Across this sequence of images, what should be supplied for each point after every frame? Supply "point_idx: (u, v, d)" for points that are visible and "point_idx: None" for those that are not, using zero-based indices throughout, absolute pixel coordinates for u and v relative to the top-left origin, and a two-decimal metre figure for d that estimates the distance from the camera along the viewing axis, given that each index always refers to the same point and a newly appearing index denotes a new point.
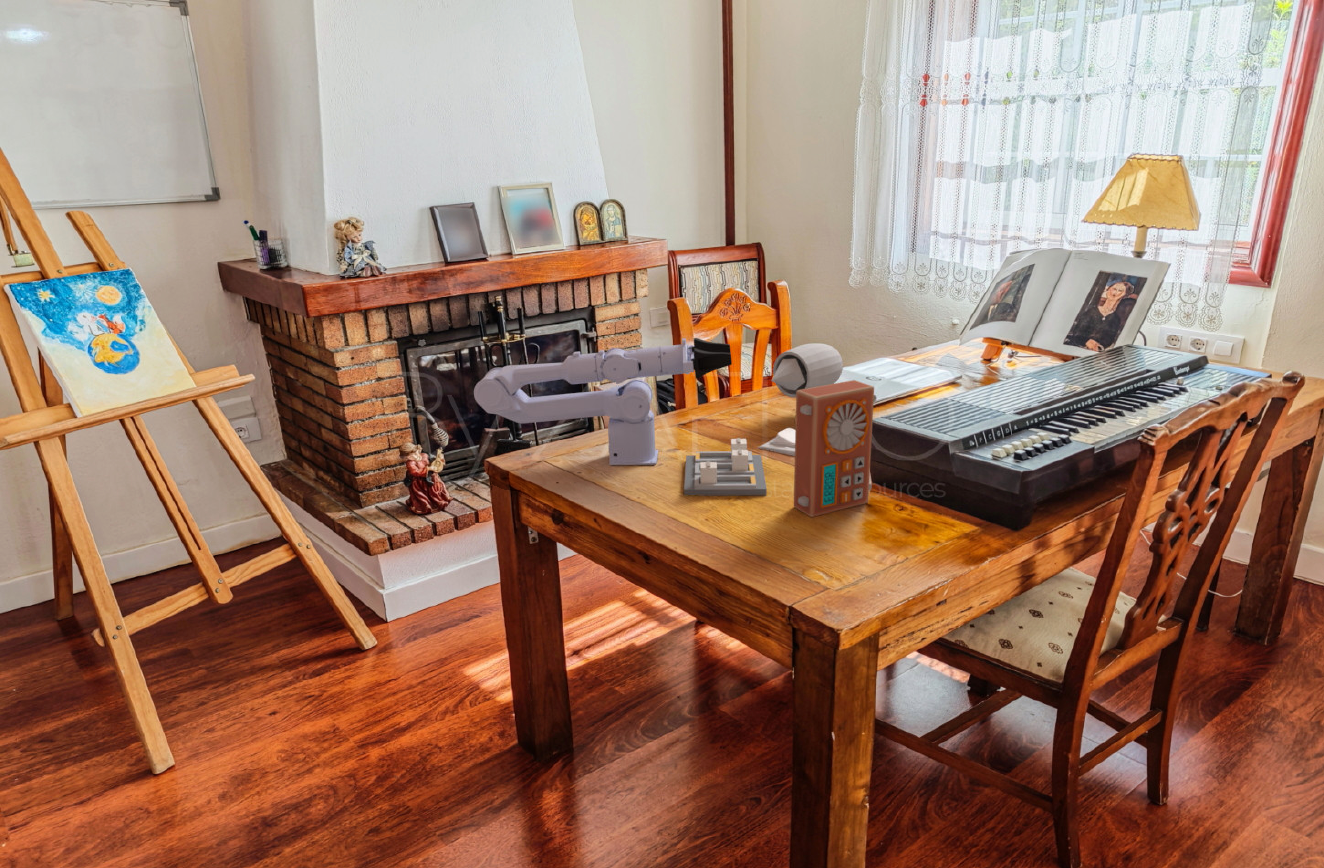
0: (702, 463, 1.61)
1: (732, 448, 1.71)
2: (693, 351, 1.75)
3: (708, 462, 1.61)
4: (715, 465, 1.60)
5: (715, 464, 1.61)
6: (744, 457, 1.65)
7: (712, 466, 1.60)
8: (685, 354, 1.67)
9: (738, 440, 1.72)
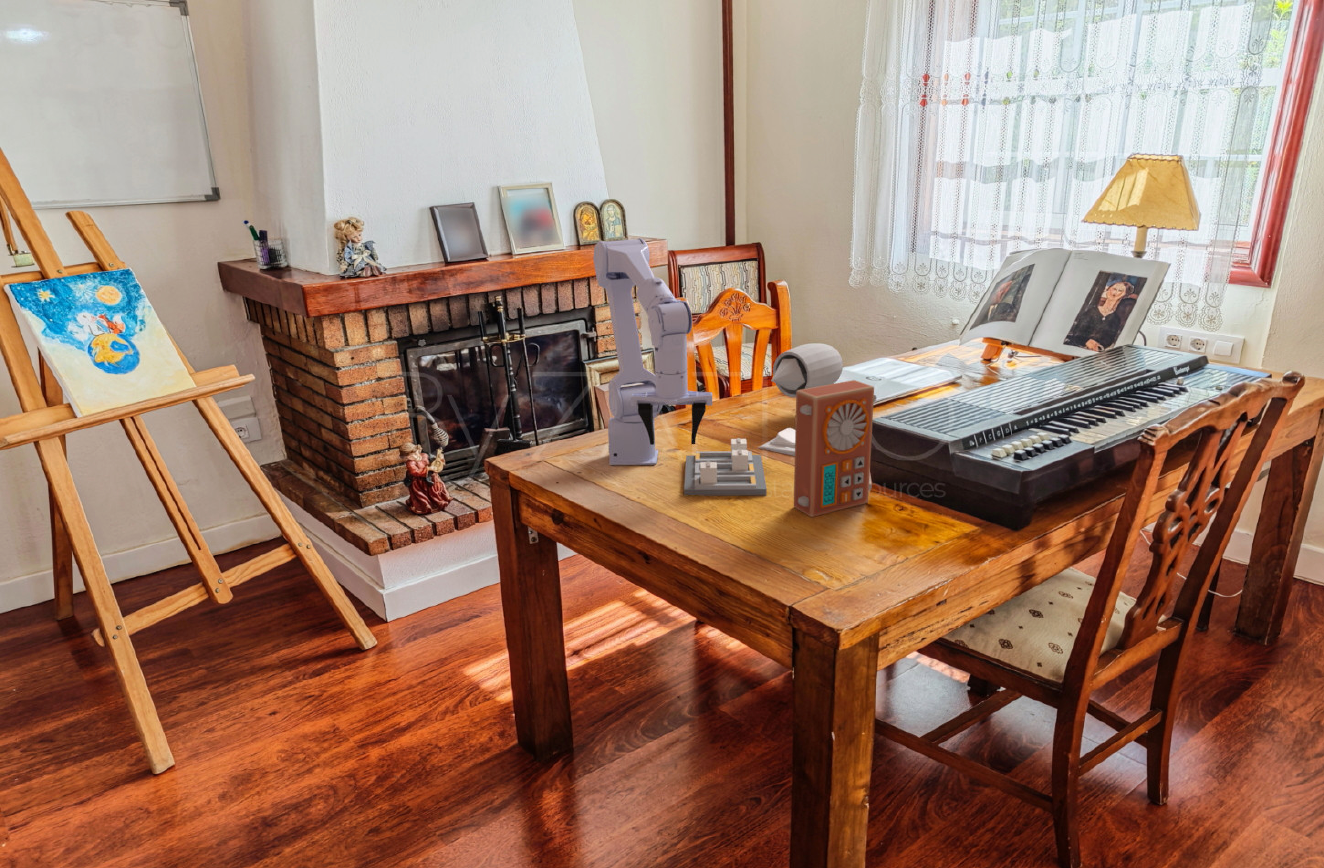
0: (702, 463, 1.61)
1: (732, 448, 1.71)
2: None
3: (708, 462, 1.61)
4: (715, 465, 1.60)
5: (715, 464, 1.61)
6: (744, 457, 1.65)
7: (712, 466, 1.60)
8: (648, 400, 1.55)
9: (738, 440, 1.72)
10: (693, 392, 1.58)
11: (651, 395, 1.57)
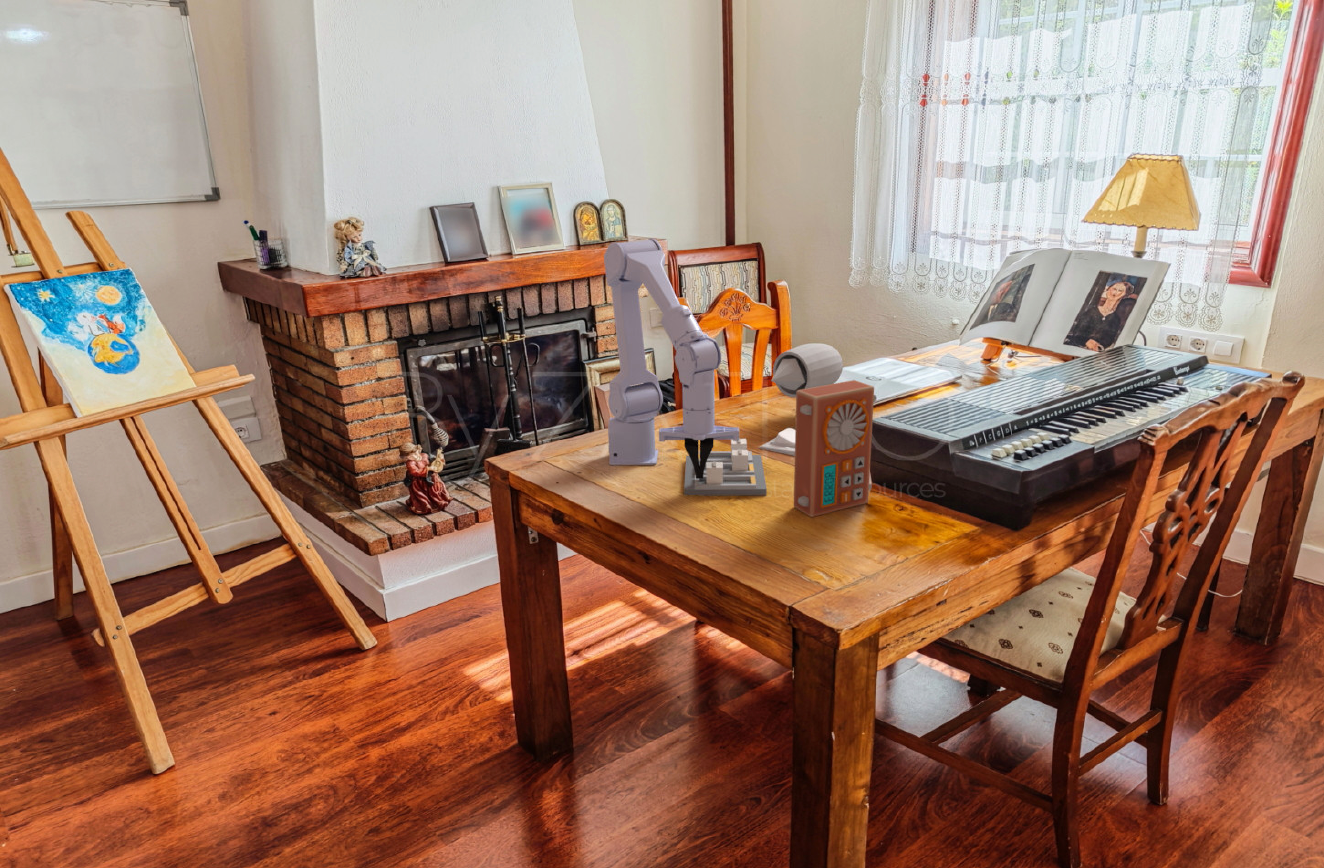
0: (708, 463, 1.61)
1: (732, 448, 1.71)
2: (720, 439, 1.58)
3: (714, 462, 1.61)
4: (721, 465, 1.60)
5: (721, 464, 1.61)
6: (744, 457, 1.65)
7: (718, 466, 1.60)
8: (675, 435, 1.57)
9: None
10: (720, 427, 1.60)
11: (678, 430, 1.58)
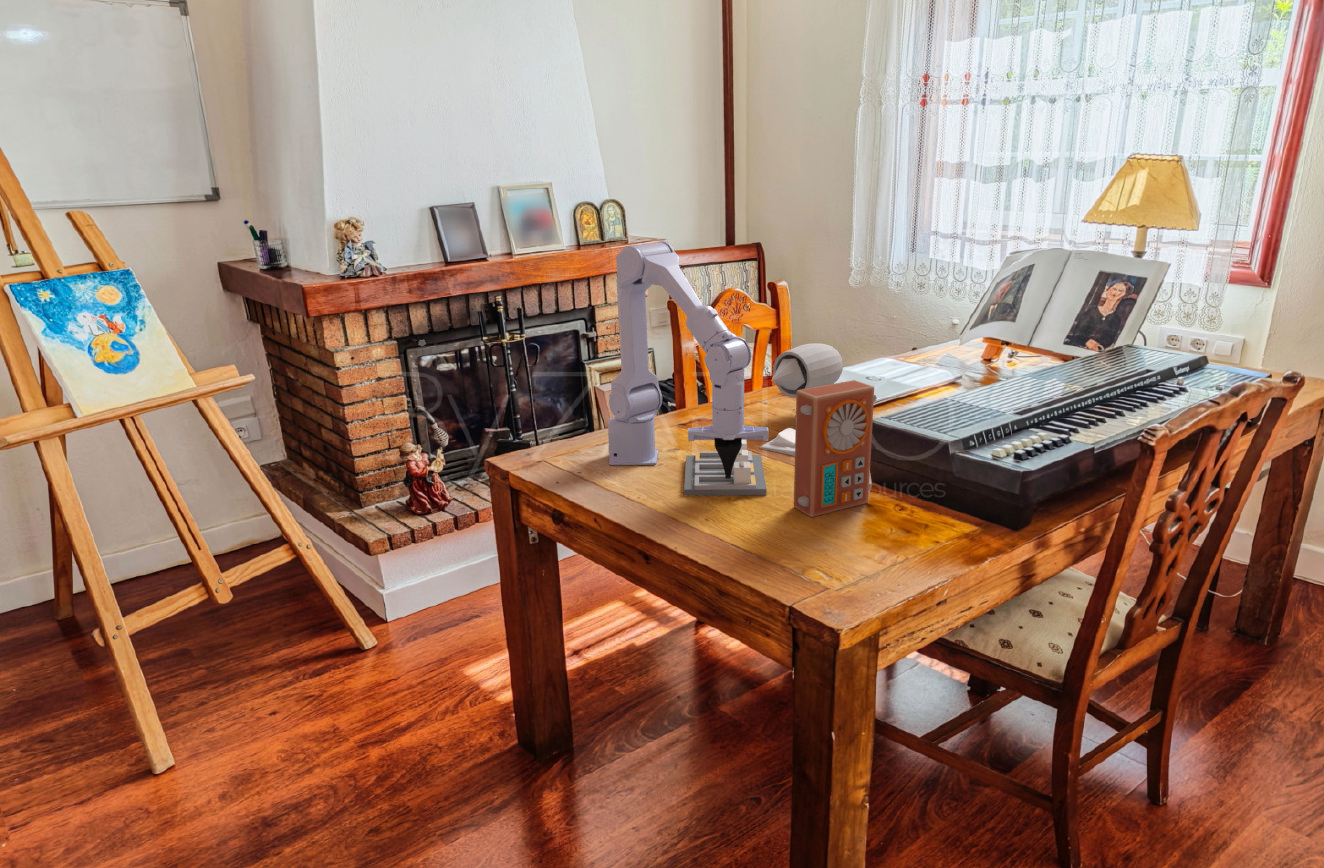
0: (735, 463, 1.61)
1: None
2: (749, 439, 1.58)
3: (741, 462, 1.61)
4: (748, 465, 1.60)
5: (748, 464, 1.60)
6: (744, 457, 1.65)
7: (746, 466, 1.59)
8: (705, 435, 1.57)
9: None
10: (749, 427, 1.59)
11: (708, 430, 1.58)
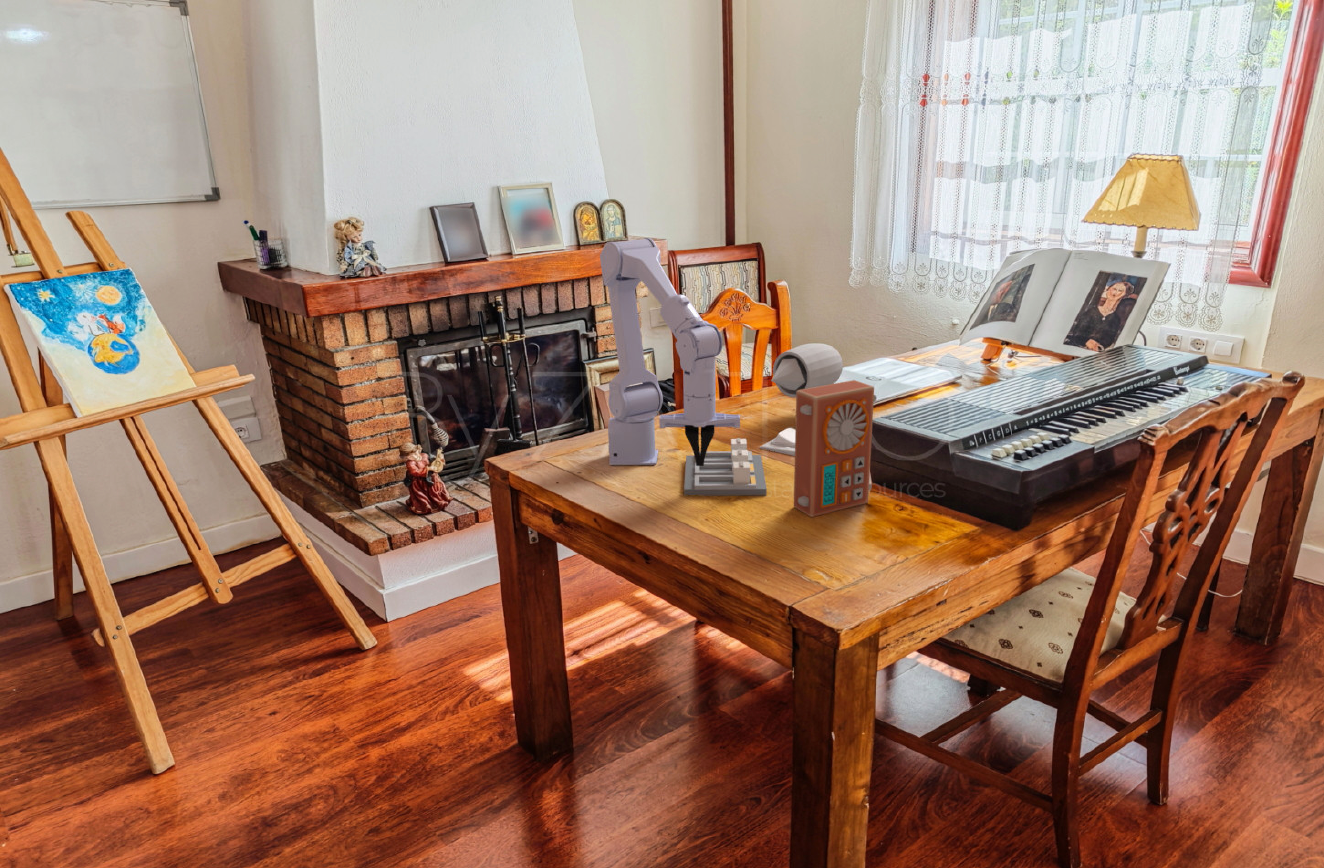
0: (735, 463, 1.61)
1: (732, 448, 1.71)
2: (721, 426, 1.58)
3: (741, 462, 1.61)
4: (748, 465, 1.60)
5: (748, 464, 1.60)
6: (744, 457, 1.65)
7: (745, 466, 1.59)
8: (676, 422, 1.56)
9: (738, 440, 1.72)
10: (721, 414, 1.59)
11: (679, 417, 1.58)
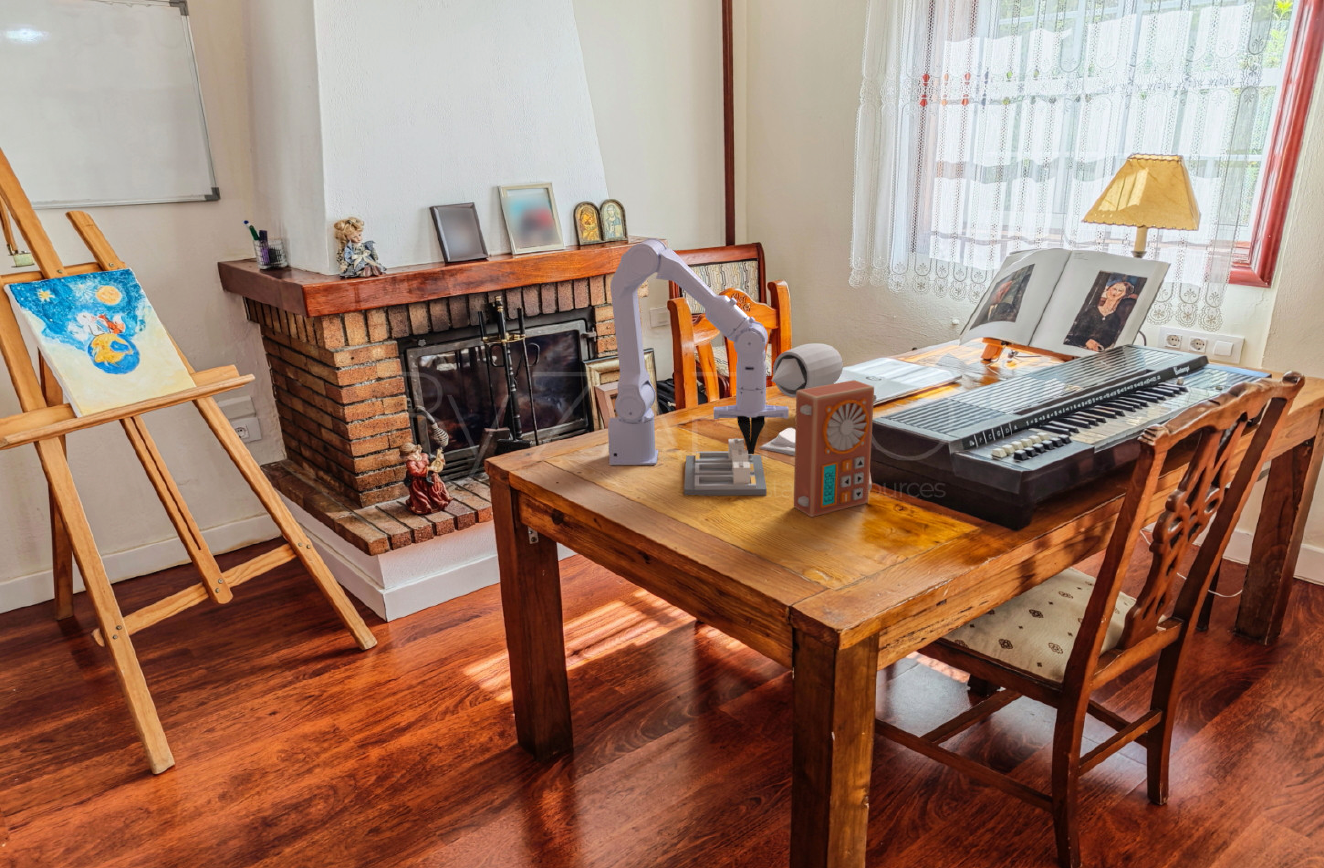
0: (735, 463, 1.61)
1: (729, 448, 1.71)
2: (770, 417, 1.70)
3: (741, 462, 1.61)
4: (748, 465, 1.60)
5: (748, 464, 1.60)
6: (744, 457, 1.65)
7: (745, 466, 1.59)
8: (729, 413, 1.69)
9: (735, 440, 1.72)
10: (770, 406, 1.71)
11: (732, 409, 1.70)
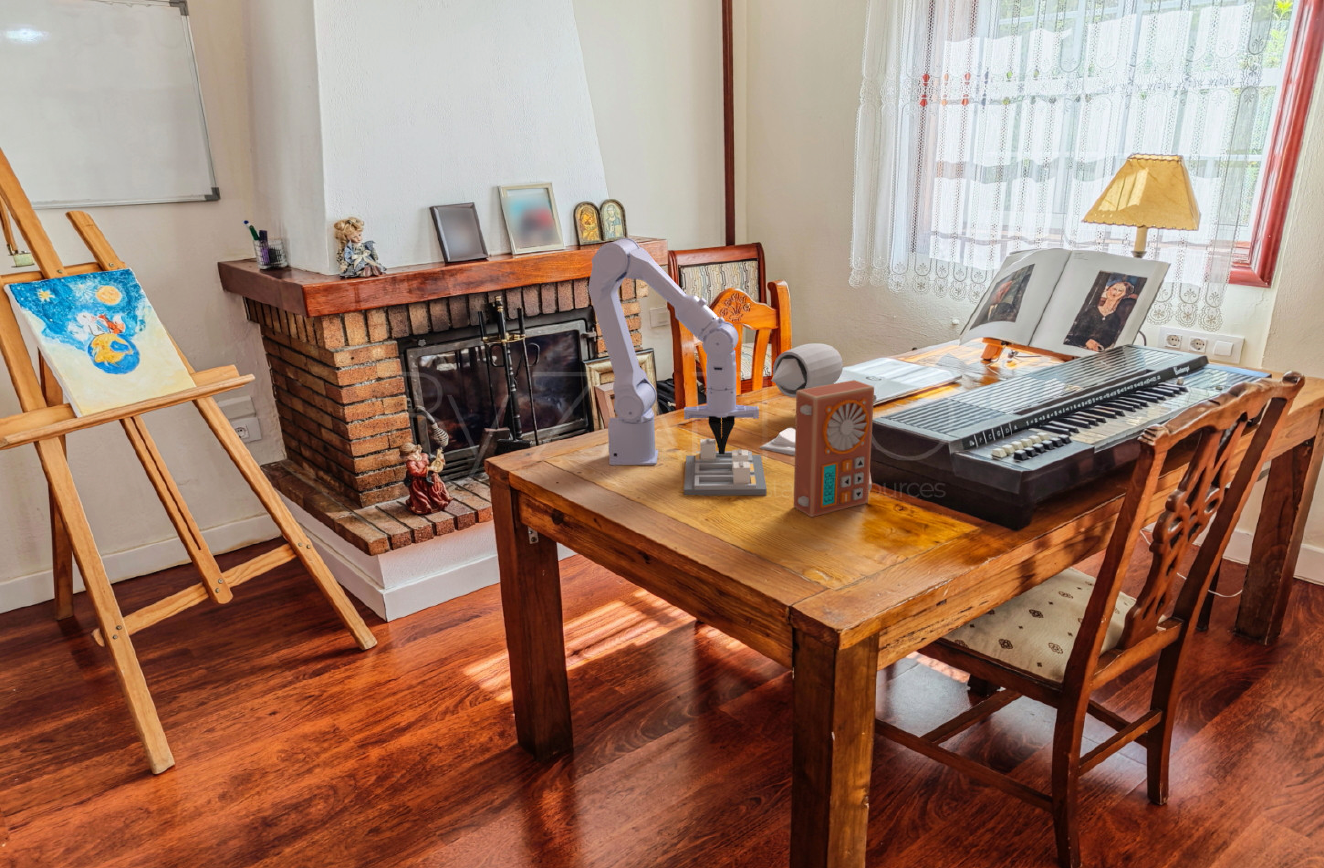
0: (735, 463, 1.61)
1: (701, 448, 1.72)
2: (741, 417, 1.70)
3: (741, 462, 1.61)
4: (748, 465, 1.60)
5: (748, 464, 1.60)
6: (744, 457, 1.65)
7: (745, 466, 1.59)
8: (700, 413, 1.69)
9: (707, 440, 1.72)
10: (741, 406, 1.72)
11: (702, 409, 1.71)
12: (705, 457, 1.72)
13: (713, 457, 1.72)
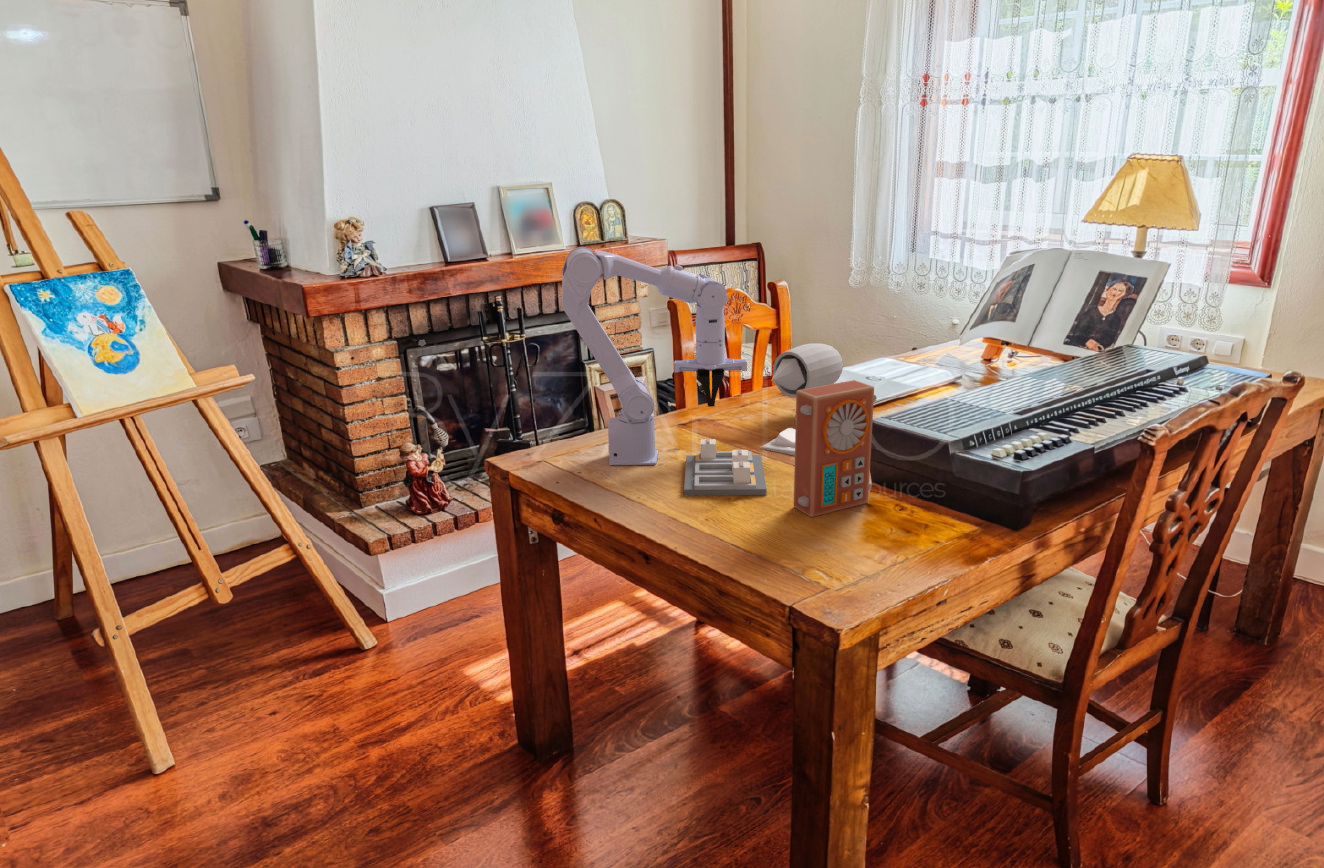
0: (735, 463, 1.61)
1: (701, 448, 1.72)
2: None
3: (741, 462, 1.61)
4: (748, 465, 1.60)
5: (748, 464, 1.60)
6: (744, 457, 1.65)
7: (745, 466, 1.59)
8: (689, 366, 1.73)
9: (707, 440, 1.72)
10: (729, 359, 1.76)
11: (692, 362, 1.75)
12: (705, 457, 1.72)
13: (713, 457, 1.72)
